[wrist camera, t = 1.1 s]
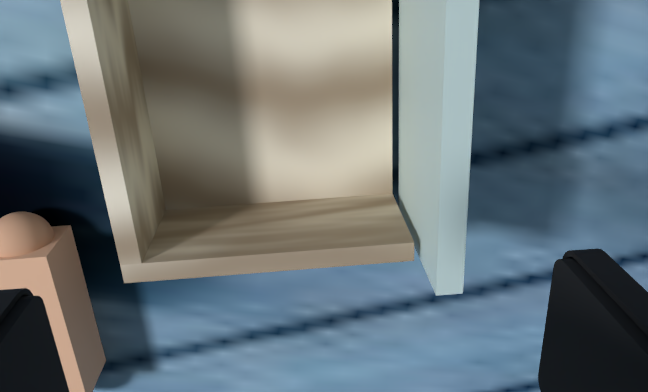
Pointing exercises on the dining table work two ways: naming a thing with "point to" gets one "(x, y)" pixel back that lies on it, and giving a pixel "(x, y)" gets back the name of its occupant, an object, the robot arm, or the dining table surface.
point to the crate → (241, 133)
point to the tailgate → (437, 131)
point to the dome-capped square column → (54, 291)
